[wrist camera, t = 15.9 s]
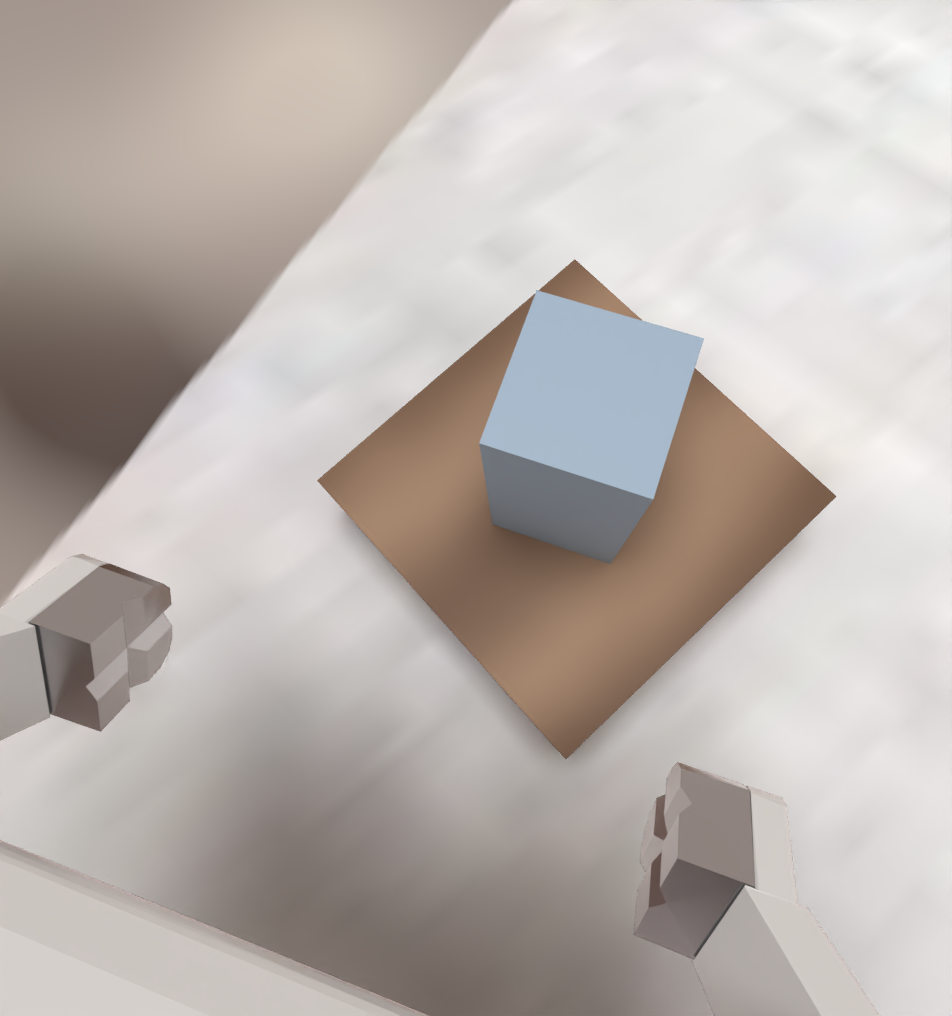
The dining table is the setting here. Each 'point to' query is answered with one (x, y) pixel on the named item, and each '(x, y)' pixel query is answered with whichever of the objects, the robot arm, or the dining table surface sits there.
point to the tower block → (584, 424)
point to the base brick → (557, 571)
